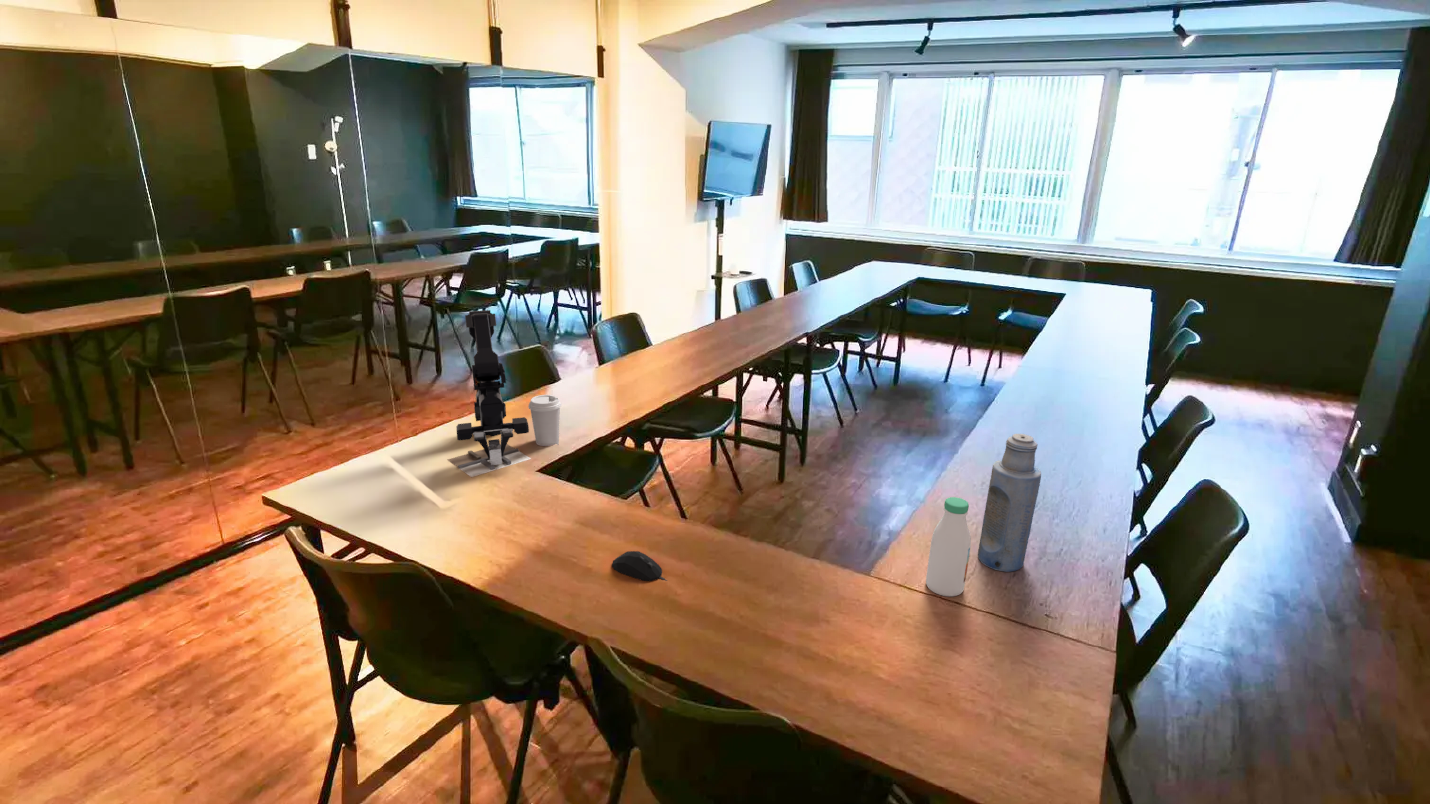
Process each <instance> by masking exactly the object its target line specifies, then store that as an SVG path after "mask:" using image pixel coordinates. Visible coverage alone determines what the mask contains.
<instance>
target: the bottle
mask: <svg viewBox="0 0 1430 804" xmlns="http://www.w3.org/2000/svg"><path fill="white" fill-rule="evenodd" d="M1037 450H1038V442H1036V441H1035V440H1034V437H1032V435H1029V434H1025V433H1014V434H1012V436H1009V437H1008V438H1007V439H1006V441H1005V449H1004V453H1003V455H1002V458H1001V459H998V460H996V461H995V462H994V463H993V464H992V469H991V473H990V474H991V475H990V480H989V484H988V485H989V486H988V491H987V498H986V501H985V508H984V515H983V520H982V527H981V532H980V538H979V544H978V550H977V551H978V552H977V558H978V559H979V561H980V562H981V564H983V565H985V566H986V567H989V568H990V569H992V570H995V571H1000V572H1005V573H1008V572H1016V571H1018V570H1019V571H1020V569H1021V568H1023V566H1024V564H1025V559H1026V553H1027V549H1028V545H1029V539H1030V535H1031V530H1032V529H1031V528H1032V523H1033V517H1034V514H1035V508H1036V503H1037V500H1038V495H1039V490H1040V487H1041V486H1040V485H1041V480H1042V479H1041V478H1042V471H1041V470H1040V469H1039V467H1037V466H1036V465H1035V464H1036V463H1035V461H1036V460H1035V459H1036V457H1035V456H1036V452H1037Z"/></svg>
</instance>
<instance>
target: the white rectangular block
mask: <svg viewBox="0 0 1430 804" xmlns="http://www.w3.org/2000/svg"><path fill="white" fill-rule="evenodd" d="M487 444H488V446H489V453H490V463H491V465H497V464H502V457H501V447H500V445H501V440H500V438H496V439H487Z"/></svg>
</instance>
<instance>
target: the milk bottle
mask: <svg viewBox="0 0 1430 804" xmlns="http://www.w3.org/2000/svg"><path fill="white" fill-rule="evenodd" d="M969 505H970V504H969V502H968V501H967V500H966V499H964V498H961V497H956V496H949V497H948V498H945V500H944V505H943V507H944V508H943V511H944V513H943V515H942V517H941V519H940V520H939V522H938V523H937V525H936V526H935V527H934V530H933V533H932V536H931V541H930V547H929V555H928V562H927V568H926V569H927V570H926V577H925V585H926V586H927V587H928V589H929V590H930V591H931V592H932V593H935V594H937V595H940V596H943V597H950V598H952V597H956V596H959V595H961V594H962V593H963V592H964V589H965V584H966V579H967V574H968V573H967V572H968V567H969V559H970V552H971V544H972V541H971V540H972V536H971V531H970V528H969V527H968V526H969V525H968V523H967V515H968V511H969Z"/></svg>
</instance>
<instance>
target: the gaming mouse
mask: <svg viewBox="0 0 1430 804" xmlns="http://www.w3.org/2000/svg"><path fill="white" fill-rule="evenodd" d="M611 566H612V568H613V570H614V571H616V572H617V573H620V574H621V575H625V576H627V577H631V578H633V579H636V580H639V581H642V582H643V581H644V582H652V581H656V580H658V579H659V580H662V581H665V582H668V580H667V579H666V578H664V577H662V574H663V569H662V567H661V566H660V565H659V563H657V562H656V561H655V560H654V559H653V558H652V557H650V556H649V555H647V554H645V553H644V552H641V551H638V550H637V551H635V550H633V551H631V550H630V551H625V552H624V553H622V554H620V555H619V556H617V557H616V558H615V559H614V560H612V564H611Z"/></svg>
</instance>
